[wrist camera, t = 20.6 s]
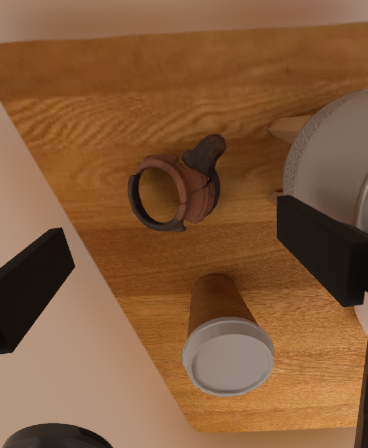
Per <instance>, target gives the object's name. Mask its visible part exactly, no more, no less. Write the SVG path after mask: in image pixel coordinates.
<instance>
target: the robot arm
mask: <svg viewBox="0 0 368 448" xmlns="http://www.w3.org/2000/svg"><path fill="white" fill-rule="evenodd" d="M277 239H278V240H279V241H280V242H281V243H282V244H283V245H284V246H285V247H286V248H287V249H288V250H289V251H290V252H291V253H292V254H293V255H294V256H295V257H296V258H297V259H298V260H299V261H300V262H301V263H302V265H303V266H304V267H305V268H306V269H307V270H308V271H309V272H310V273H311V274H312V275H313V276H314V277H315V278H316V279H317V280H318V281H319V282H320V283H321V284H322V285H323V286H324V287H325V288H326V290H327V291H328V292H329V293H330V294H331V295H332V296H333V297H334V298H335V299H336V300H337V301H338V302H339V303H340V304H341V305H342V306H343V307H349V306H356V305H363V303H364V296H365V291H366V292H367V293H368V233H366V232H364V231H361V229H359V228H357V227H355V226H353V225H350V224H346V223H343V222H338V221H336V220H335V219H333V218H331V217H329V216H327V215H326V214H324V213H322V212H320V211H318V210H316V209H315V208H313V207H311V206H309V205H307V204H306V203H304V202H302V201H300V200H298V199H297V198H295V197H293V196H291V195H284V196H277ZM74 268H75V264H74V261H73V258H72V255H71V252H70V250H69V247H68V244H67V241H66V238H65V235H64V232H63V229H62V227H61V228H54V229H49V230H48V231H47V232H45V233H44V234H43V235H42V236H40V237H39V238H38V239H36V241H34V242H33V243H32V244H30V245H29V246H28V247H26V248H25V249H24V250H23V251H21V252H20V253H19V254H17V255H16V256H15V257H14V258H12V259H11V260H10V261H9V262H7V263H6V264H5V265H4V266H2V267H1V268H0V354H6V353H12V352H13V351H14V350H15V348H16V347H17V346H18V344H19V343H20V342H21V340H22V339H23V337H24V336H25V335H26V333H27V332H28V331H29V329H30V328H31V327H32V325H33V324H34V322H35V321H36V320H37V318H38V317H39V316H40V314H41V313H42V311H43V310H44V309H45V307H46V306H47V305H48V303H49V302H50V301H51V299H52V298H53V296H54V295H55V294H56V292H57V291H58V290H59V288H60V287H61V285H62V284H63V283H64V281H65V280H66V279H67V277H68V276H69V274H70V273H71V272H72V270H73V269H74ZM354 448H368V342H367V350H366V358H365V366H364V374H363V381H362V389H361V397H360V405H359V413H358V421H357V429H356V437H355V445H354Z"/></svg>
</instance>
